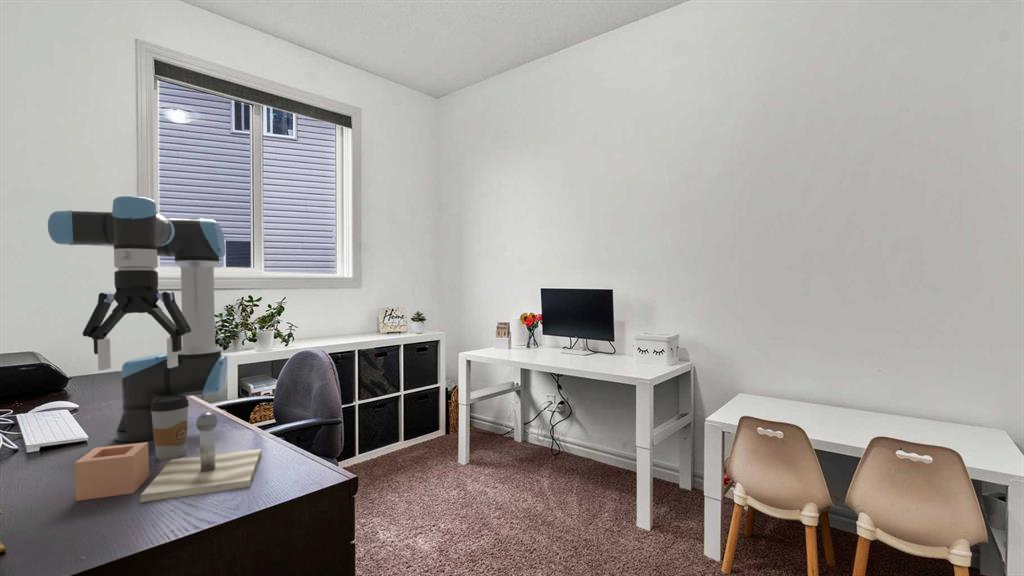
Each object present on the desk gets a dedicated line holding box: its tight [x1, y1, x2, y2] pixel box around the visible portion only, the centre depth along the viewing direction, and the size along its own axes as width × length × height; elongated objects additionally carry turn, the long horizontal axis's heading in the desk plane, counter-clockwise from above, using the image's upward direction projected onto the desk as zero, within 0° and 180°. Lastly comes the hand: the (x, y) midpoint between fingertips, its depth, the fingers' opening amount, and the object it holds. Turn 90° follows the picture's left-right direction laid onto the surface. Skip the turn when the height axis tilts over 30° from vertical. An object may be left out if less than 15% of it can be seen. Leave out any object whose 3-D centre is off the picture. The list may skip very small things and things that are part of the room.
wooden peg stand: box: [140, 411, 262, 503], centre depth 117 cm, size 22×20×15 cm
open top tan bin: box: [74, 441, 150, 502], centre depth 110 cm, size 10×10×8 cm
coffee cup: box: [150, 395, 190, 461], centre depth 130 cm, size 8×8×15 cm
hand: (139, 368), depth 108 cm, fingers open, 13 cm apart
